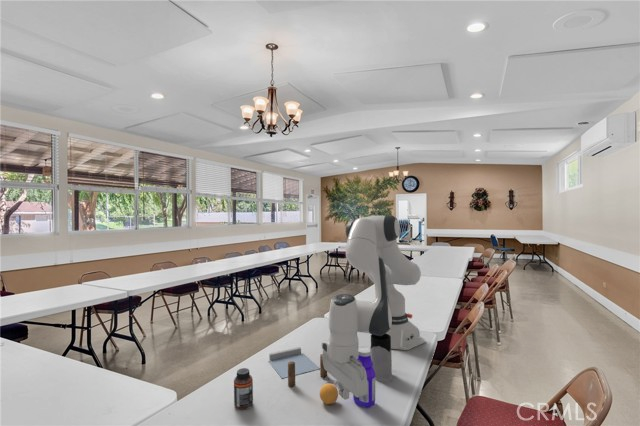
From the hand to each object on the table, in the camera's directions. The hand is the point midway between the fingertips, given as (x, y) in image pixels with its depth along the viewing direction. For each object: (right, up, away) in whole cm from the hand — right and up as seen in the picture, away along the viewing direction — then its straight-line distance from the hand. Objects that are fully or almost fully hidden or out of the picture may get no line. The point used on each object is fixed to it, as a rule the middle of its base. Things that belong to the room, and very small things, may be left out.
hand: (344, 396), depth 99 cm
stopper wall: (-22, -7, +44) cm, 50 cm away
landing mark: (-18, -7, +36) cm, 41 cm away
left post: (-17, -7, +20) cm, 28 cm away
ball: (-4, -4, +9) cm, 11 cm away
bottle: (+7, -7, +9) cm, 14 cm away
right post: (-6, -7, +26) cm, 28 cm away
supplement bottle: (-32, -8, +8) cm, 34 cm away
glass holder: (+17, -7, +29) cm, 34 cm away
